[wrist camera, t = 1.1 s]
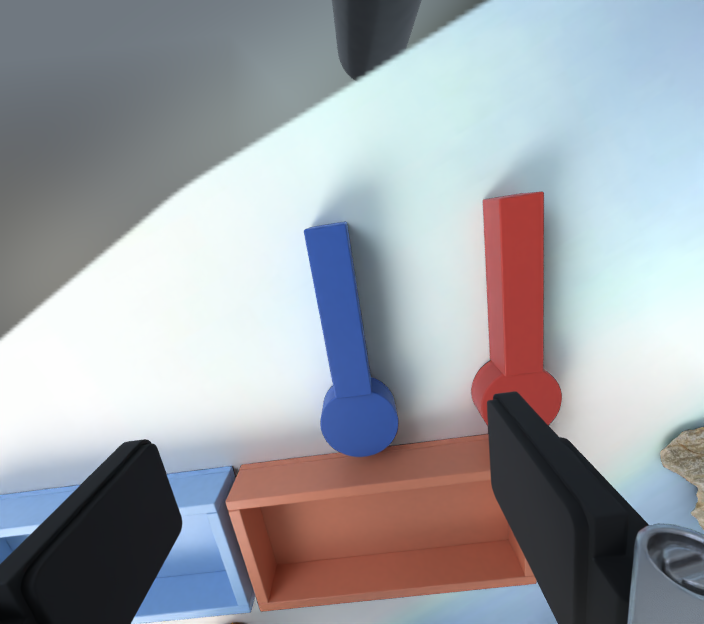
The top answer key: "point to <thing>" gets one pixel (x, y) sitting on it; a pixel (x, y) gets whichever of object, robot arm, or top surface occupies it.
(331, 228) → the blue spoon
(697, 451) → the stone tool
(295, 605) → the red bin
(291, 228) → the top surface
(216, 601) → the blue bin
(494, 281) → the red spoon
